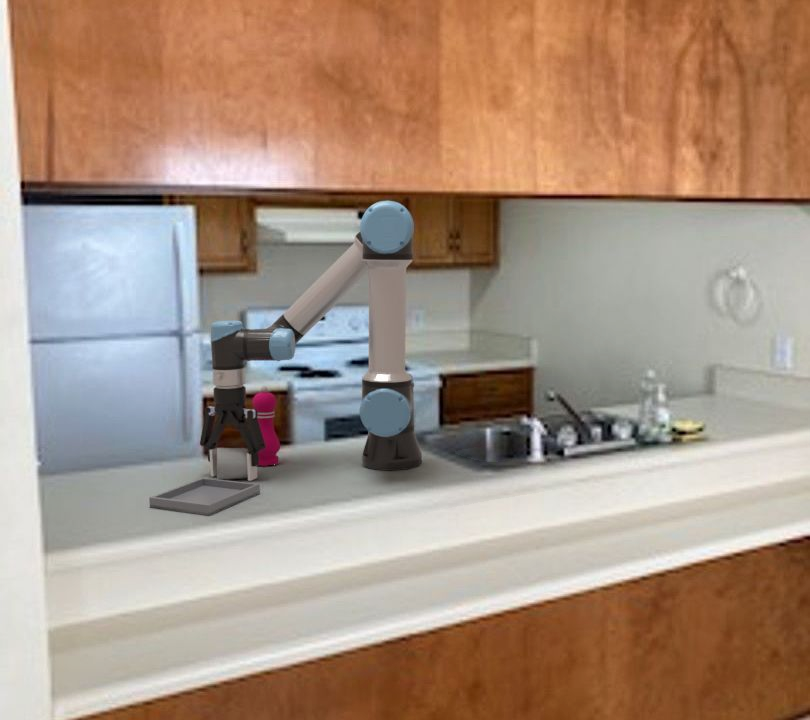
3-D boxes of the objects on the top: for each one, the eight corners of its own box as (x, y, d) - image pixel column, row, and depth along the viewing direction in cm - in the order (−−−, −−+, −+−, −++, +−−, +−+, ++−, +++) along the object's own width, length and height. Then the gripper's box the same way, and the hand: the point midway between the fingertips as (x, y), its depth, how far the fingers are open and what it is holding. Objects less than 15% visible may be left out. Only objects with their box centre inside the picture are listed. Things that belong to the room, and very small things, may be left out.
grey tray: (260, 493, 206) (259, 484, 206) (209, 515, 190) (209, 505, 190) (203, 486, 213) (202, 477, 213) (149, 507, 197) (149, 497, 197)
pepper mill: (285, 464, 233) (283, 386, 231) (259, 468, 229) (257, 388, 227) (272, 459, 239) (270, 383, 237) (247, 463, 235) (244, 385, 233)
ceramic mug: (252, 480, 217) (251, 449, 216) (217, 483, 215) (215, 451, 214) (250, 471, 227) (249, 440, 226) (216, 473, 226) (215, 442, 225)
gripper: (181, 386, 219) (186, 476, 222) (259, 390, 209) (264, 485, 212) (201, 381, 225) (205, 469, 228) (278, 385, 215) (282, 477, 218)
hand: (233, 477), depth 220 cm, fingers closed on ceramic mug, 10 cm apart
